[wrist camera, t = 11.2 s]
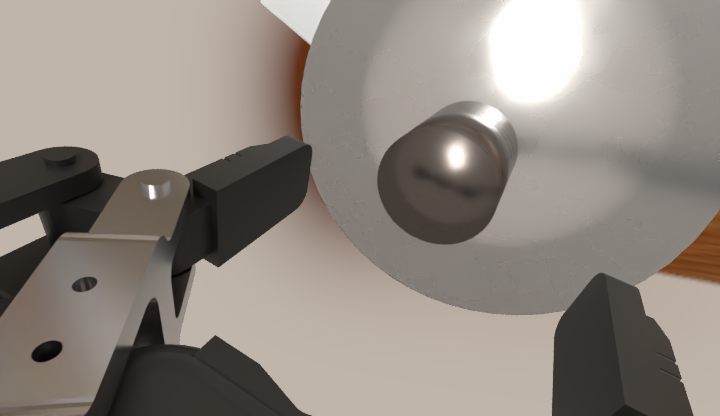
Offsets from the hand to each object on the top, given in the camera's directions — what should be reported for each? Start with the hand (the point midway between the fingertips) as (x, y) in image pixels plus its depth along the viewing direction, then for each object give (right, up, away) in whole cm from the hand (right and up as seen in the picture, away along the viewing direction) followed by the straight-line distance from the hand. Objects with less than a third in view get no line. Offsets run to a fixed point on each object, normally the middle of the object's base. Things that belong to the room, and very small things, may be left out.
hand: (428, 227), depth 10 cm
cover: (+11, +11, +20) cm, 26 cm away
